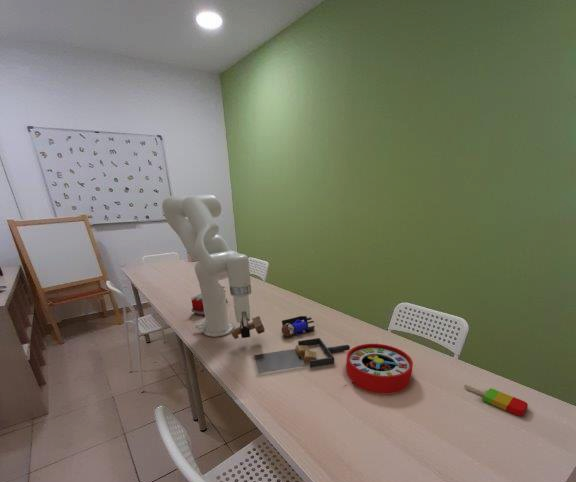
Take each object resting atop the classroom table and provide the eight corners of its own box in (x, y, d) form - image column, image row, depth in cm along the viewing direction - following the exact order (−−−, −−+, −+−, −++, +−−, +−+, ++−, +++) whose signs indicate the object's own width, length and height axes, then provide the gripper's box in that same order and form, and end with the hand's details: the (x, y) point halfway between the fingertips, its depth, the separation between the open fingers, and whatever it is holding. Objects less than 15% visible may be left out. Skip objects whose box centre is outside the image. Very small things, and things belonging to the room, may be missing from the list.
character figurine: (317, 334, 125) (284, 342, 119) (308, 326, 131) (277, 334, 125) (318, 317, 121) (284, 325, 115) (309, 310, 127) (277, 317, 121)
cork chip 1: (298, 356, 106) (299, 350, 105) (295, 351, 110) (296, 345, 109) (308, 356, 107) (310, 350, 106) (305, 351, 111) (306, 345, 110)
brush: (234, 343, 109) (231, 336, 108) (233, 333, 117) (230, 326, 116) (265, 331, 110) (262, 324, 109) (261, 322, 119) (258, 315, 117)
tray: (259, 375, 98) (259, 373, 98) (254, 357, 109) (254, 355, 108) (306, 368, 101) (306, 365, 101) (296, 351, 112) (296, 348, 112)
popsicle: (521, 418, 77) (523, 412, 76) (460, 391, 88) (461, 386, 87) (527, 408, 80) (529, 402, 80) (467, 383, 91) (468, 378, 90)
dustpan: (310, 370, 100) (310, 361, 99) (298, 348, 114) (298, 340, 112) (358, 362, 104) (359, 353, 102) (341, 342, 117) (341, 334, 116)
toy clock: (352, 340, 106) (412, 348, 100) (351, 354, 109) (410, 363, 102) (341, 370, 89) (413, 382, 83) (340, 386, 91) (410, 399, 85)
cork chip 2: (303, 362, 103) (304, 356, 102) (303, 356, 107) (305, 350, 105) (315, 363, 103) (316, 357, 102) (315, 357, 106) (316, 351, 105)
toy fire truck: (230, 305, 158) (227, 287, 154) (203, 318, 143) (200, 298, 139) (217, 302, 162) (215, 284, 158) (190, 314, 148) (187, 295, 144)
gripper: (228, 284, 113) (234, 328, 121) (231, 297, 99) (237, 346, 106) (248, 282, 115) (252, 326, 122) (254, 295, 100) (258, 343, 108)
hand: (245, 335), depth 114 cm, fingers closed on brush, 2 cm apart
